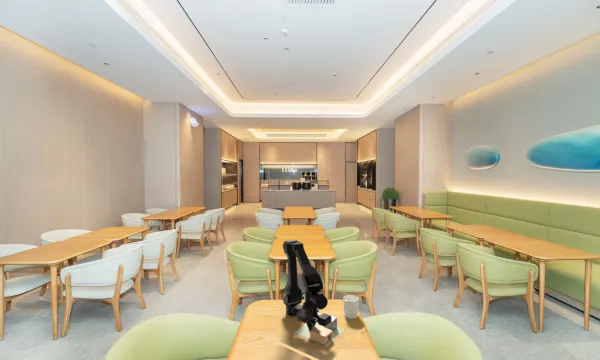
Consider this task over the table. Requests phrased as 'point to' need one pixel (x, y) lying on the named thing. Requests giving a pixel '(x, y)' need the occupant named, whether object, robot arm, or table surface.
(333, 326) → the gray metal block
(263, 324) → the table surface
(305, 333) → the board
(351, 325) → the table surface
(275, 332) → the table surface
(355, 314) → the white cup
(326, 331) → the cover
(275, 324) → the table surface
